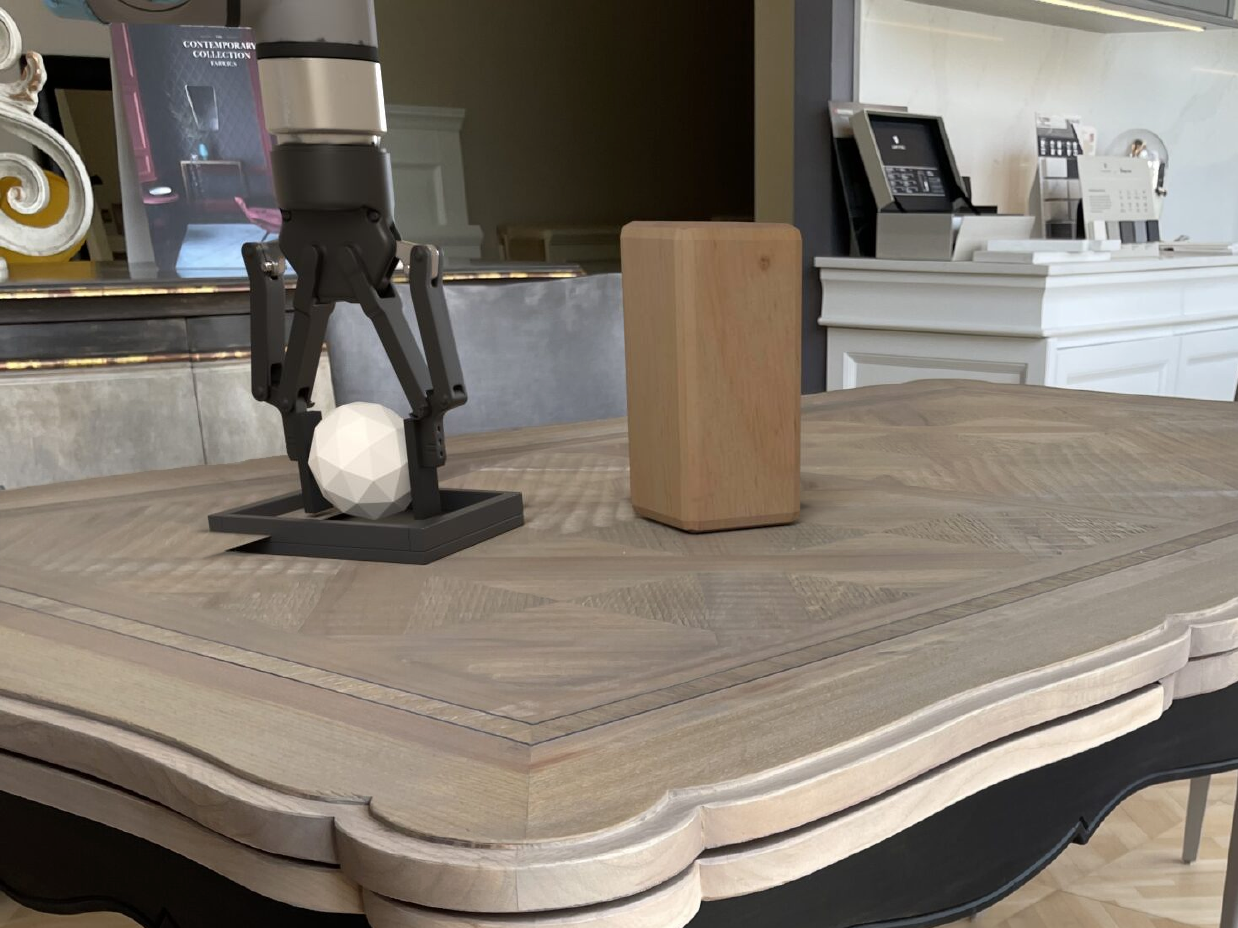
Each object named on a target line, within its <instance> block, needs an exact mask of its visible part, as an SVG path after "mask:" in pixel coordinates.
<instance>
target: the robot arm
mask: <svg viewBox="0 0 1238 928" xmlns="http://www.w3.org/2000/svg"><path fill="white" fill-rule="evenodd" d="M40 1H41V3H42V5H43V7H44V8H45V9H46V10H47V12H49V13H50V14H51V15H52V16H55V17H56V18H59V19H64V20H75V21H87V22H93V23H98V24H99V25H102V26H103V27H104V26H106V27H107V26H111V25H112V24H138V25H139V24H140V25H141V24H142V25H165V26H168V25H169V26H209V27H211V26H213V27H214V26H215V27H224V28H230V29H231V28H233V29H236V28H237V29H238V28H249V29H251V31H252V35H253V39H254V44H255V53H256V59H257V60H256V63H257V70H258V78H259V86H260V95H261V102H262V109H263V110H262V111H263V116H264V117H263V118H264V125H265V130H266V131H267V133H269V134H270V135H273V136H276V138H277V139H276V140H277V144H278V145H272V146H271V149H272V150H270V151H268V152H269V160H270V166H271V175H272V181H273V190H274V197H275V202H276V205H277V207H278V209H279V212H280V215H281V225H280V230H279V233H278V237H277V238H275V239H271V240H268V241H245V242H244V243H243V244H242V245H241V247H240V252H241V257H242V260H243V265H244V267H245V270H246V275H247V277H248V280H249V325H250V326H249V327H250V328H249V329H250V331H249V333H250V334H249V335H250V390H251V392H250V393H251V395H252V397H253V399H254V400H255V401H256V402H259V403H260V402H264V403H266V404H268V405H271V406H273V407H274V408H276V409H277V410H278V411H279V413H280V415H281V422H282V428H283V435H284V442H285V448H286V454H287V456H288V458H289V461H290V462H297V467H298V474H299V481H300V487H301V489H302V496H303V503H304V508H303V509H304V514H312V515H313V514H314V515H315V514H318V513H321V512H324V511H328V510H331V509H334V507H335V506H334V505H333V504H332V503H331V502H329V501H328V500H327V499H326V498H324V497H323V494H322V492H321V490H320V488H319V486H318V484H317V482H316V479H315V477H314V475H313V473H312V471H311V469H310V466H309V464H308V461H309V456H310V451H311V446H312V441H313V436H314V431H315V427H316V426H317V425H318V424H319V423H320V421H321V420H322V419H323V414H322V413H323V412H322V410H313V409H312V410H308V409H311V408H314V407H315V406H316V402H315V401H313V400H312V396H313V391H314V388H315V382H316V378H317V373H318V369H319V364H320V360H321V355H322V350H323V347H324V342H325V338H326V332H327V328H328V323H329V320H330V317H331V315H332V314H333V313H334V312H335V308H336V305H337V303H343V302H345V303H349V304H353V305H354V304H356V305H357V304H359V305H360V308H361V310H362V312H363V314H364V315H365V316H366V317H367V318H368V319H369V320H370V321H371V323H372V325H373V328H374V329H375V332H376V334H377V337H378V338H379V340H380V343H381V344H382V347H383V349H384V351H385V353H386V356H387V358H388V360H389V362H390V364H391V366H392V369H393V371H394V374H395V375H396V378H397V380H398V383H399V384H400V386H401V389H402V391H403V393H404V395H405V397H406V399H407V401H408V404H409V406H410V408H411V411H412V412H409V413H408V416H409V417H407V418H402V419H403V423H404V432H405V441H406V450H407V460H408V469H409V478H410V487H411V497H412V506H413V515H414V520H425V519H428V518H431V517H434V516H436V515H439V514H441V505H440V495H439V488H440V485H439V477H438V476H439V475H438V468H441V467H444V466H445V465H446V462H447V458H448V457H447V450H446V448H447V447H446V438H445V428H444V427H445V426H444V417H445V415H446V414H447V412H449V411H451V410H454V409H457V408H459V407H462V406H465V405H466V404H467V402H468V400H469V395H468V391H467V387H466V382H465V378H464V373H463V368H462V364H461V360H460V356H459V350H458V347H457V342H456V337H455V333H454V329H453V325H452V319H451V316H450V311H449V308H448V303H447V298H446V294H445V289H444V285H443V279H444V267H445V266H444V263H445V252H444V250H443V248H442V247H441V246H440V245H439V244H436V243H432V244H429V243H428V244H420V243H416V242H411V241H408V240H404V239H403V236H402V233H400V231H399V229H398V227H397V224H396V220H395V205H396V201H395V189H394V180H393V179H394V178H393V172H392V161H391V152H387V148H386V147H384V146H383V147H382V146H380V140H379V139H380V137H381V138H382V137H384V136H385V135H386V133H388V127H387V116H386V108H385V99H384V88H383V79H382V68H381V64H380V53H379V45H378V35H377V23H376V14H375V13H376V12H375V1H374V0H40ZM286 261H287V262H286ZM400 262H401V263H402V272H403V273H404V274H405V276H406V277H407V278H408V283H409V292H410V297H411V302H412V305H413V311H414V314H415V317H416V322H417V327H418V331H419V335H420V339H421V343H422V348H423V352H424V355H423V353H422V350H421V348H420V346H419V343H418V341H417V339H416V337H415V335H414V332H413V330H412V328H411V326H410V324H409V322H408V320H407V317H406V315H405V312H404V302H403V300H402V298H401V295H400V293H399V291H398V289H397V286H396V284H395V282H394V279H393V275H394V273H395V271H396V269H397V267H398V265H399V263H400ZM287 263H289V264H287ZM288 265H290V267H291V269H292V270H293V271H294V273H295V274H296V275H297V279H296V285H295V289H294V295H293V299H292V307H293V309H294V313H293V314H294V315H293V317H292V322H291V327H290V328H291V329H290V332H289V337H288V342H287V345H286V282H285V276H284V274H285V272H286V270H287V269H288ZM286 346H287V347H286ZM424 356H425V358H424Z"/></svg>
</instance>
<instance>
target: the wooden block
mask: <svg viewBox="0 0 1238 928" xmlns="http://www.w3.org/2000/svg"><path fill="white" fill-rule="evenodd" d="M619 239H620V241H619V242H620V243H619V245H620V260H621V261H620V265H621V289H622V290H621V291H622V312H623V313H622V314H623V315H622V316H623V339H624V341H623V342H624V359H625V360H624V362H625V364H624V365H625V386H626V388H625V389H626V412H627V431H628V432H627V435H628V437H627V438H628V459H629V460H628V463H629V483H630V486H629V487H630V504H631V506H632V510H633V512H634V513H635V514H636V515H639V516H641V517H643V518H646V519H649V520H653V521H655V522H659V523H662V524H664V525H668V526H671V527H674V528H677V529H680V530H682V531H686V532H689V533H691V534H700V533H709V532H719V531H720V532H722V531H731V530H732V531H733V530H739V529H740V530H742V529H752V528H761V527H772V526H781V525H788V524H789V523H792V522H794V521H796V520H798V518H799V516H800V512H801V443H802V441H801V438H802V437H801V434H802V433H801V432H802V431H801V429H802V427H801V425H802V422H801V421H802V323H803V322H802V319H803V318H802V315H803V314H802V311H803V309H802V307H803V306H802V305H803V294H802V293H803V289H802V288H803V238H802V234H801V230H800V229H799V228H797V227H795V226H794V225H792V224H790V223H789V222H757V221H756V222H754V221H752V222H750V221H749V222H748V221H681V220H680V221H676V220H675V221H672V220H670V221H669V220H667V221H665V220H661V221H659V220H655V221H654V220H644V221H643V220H633V221H630V222H628V223H627V224H625V225H623V226H622V227H621V231H620V236H619Z"/></svg>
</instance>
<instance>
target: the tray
mask: <svg viewBox="0 0 1238 928" xmlns="http://www.w3.org/2000/svg"><path fill="white" fill-rule="evenodd" d="M439 495H440V505H441V514H439V515H436V516H434V517H431V518H428V519H425V520H414V515H413V506H412V501H411V502H410V503H409V505H408V506H407V508H406V509H405V510H404V511H401V512H398V513H395V514H392V515H389V516H386V517H384V518H381V519H378V520H372V519H367V518H362V517H357V516H353V515H349V514H346V513H343V512H341V513H338V514H335V515H332V516H329V517H326V518H321V519H317V518H302V517H283V515H286V514H289V513H292V512H295V511H298V510H299V511H300V510H303V509H304V503H303V496H302V489H297V490H294V491H290V492H287V493H283V494H279V495H276V496H271V497H268V498H265V499H262V500H258V501H254V502H250V503H247V504H244V505H240V506H236V507H233V508H228V509H225V510H222V511H219V512H215V513H211V514H207V523H208V528H209V532H210V533H224V534H225V533H226V534H239V535H240V534H242V535H256V536H266V537H263V538H259V539H257V540H253V541H249V542H246V543H243V544H241V545H237V546H235V547H231V548H228V549H225V550H224V552H231V553H232V552H234V553H247V554H248V553H249V554H250V553H251V554H261V555H263V554H264V555H278V556H292V557H306V558H307V557H309V558H320V559H321V558H325V559H337V560H352V561H366V562H367V561H368V562H381V563H382V562H383V563H397V564H412V565H427V564H430V563H432V562H435V561H437V560H439V559H441V558H444V557H447V556H450V555H452V554H454V553H457V552H460V551H461V550H464V549H467V548H469V547H471V546H474V545H476V544H478V543H481V542H484V541H486V540H489V539H491V538H493V537H496V536H499V535H501V534H503V533H506V532H509V531H510V530H514V529H515V528H518V527H522V526H524V525H525V514H524V502H523V501H524V499H523V492H522V491H509V490H494V489H493V490H491V489H474V488H455V487H439Z"/></svg>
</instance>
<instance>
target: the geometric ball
mask: <svg viewBox="0 0 1238 928" xmlns="http://www.w3.org/2000/svg"><path fill="white" fill-rule="evenodd" d="M403 419H404V418H402V417H401V416H399V414H397V413H396V412H395V411H393V410H392V409H390V408H388V407H386V406H384V405H382V404H381V403H375V402H374V403H372V402H365V401H354V402H350V403H345V404H343V405H340V406H337V407H335V408H333V409H331V410H328V412H326V414H325V415H324V417H322V420H321V421H320V423H319V424H318V425H317V426H316V427H315V431H314V436H313V441H312V446H311V451H310V456H309V461H308V464H309V466H310V469H311V471H312V473H313V475H314V477H315V479H316V482H317V484H318V486H319V488H320V490H321V492H322V494H323V497H324V498H326V499H327V500H328V501H329V502H331V503H332V504H333V505H334V507H335V508H337V510H339V511H340V512H341V513H346V514H349V515H353V516H357V517H362V518H367V519H372V520H378V519H381V518H384V517H386V516H389V515H392V514H395V513H398V512H401V511H404V510H405V509H406V508H407V506H408V505H409V503H410V502H411V501H412V497H411V487H410V478H409V469H408V460H407V450H406V441H405V432H404V423H403Z"/></svg>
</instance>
